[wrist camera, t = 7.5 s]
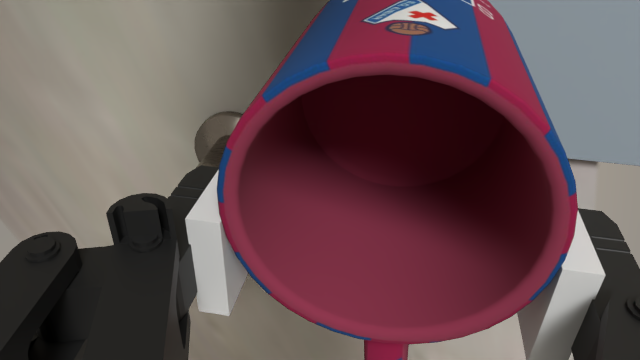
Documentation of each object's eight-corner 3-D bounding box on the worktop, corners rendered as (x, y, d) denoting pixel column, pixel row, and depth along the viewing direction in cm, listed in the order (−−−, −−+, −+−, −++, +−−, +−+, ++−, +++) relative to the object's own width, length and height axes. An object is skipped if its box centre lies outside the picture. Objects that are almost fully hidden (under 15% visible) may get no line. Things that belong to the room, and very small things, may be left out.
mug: (552, -18, 13) (643, 81, 7) (468, 270, 18) (483, 452, 13) (297, -42, 14) (204, 30, 8) (289, 240, 19) (230, 399, 14)
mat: (490, -93, 23) (491, -93, 22) (784, -82, 21) (792, -81, 21) (448, 141, 29) (448, 146, 29) (671, 164, 28) (676, 169, 27)
